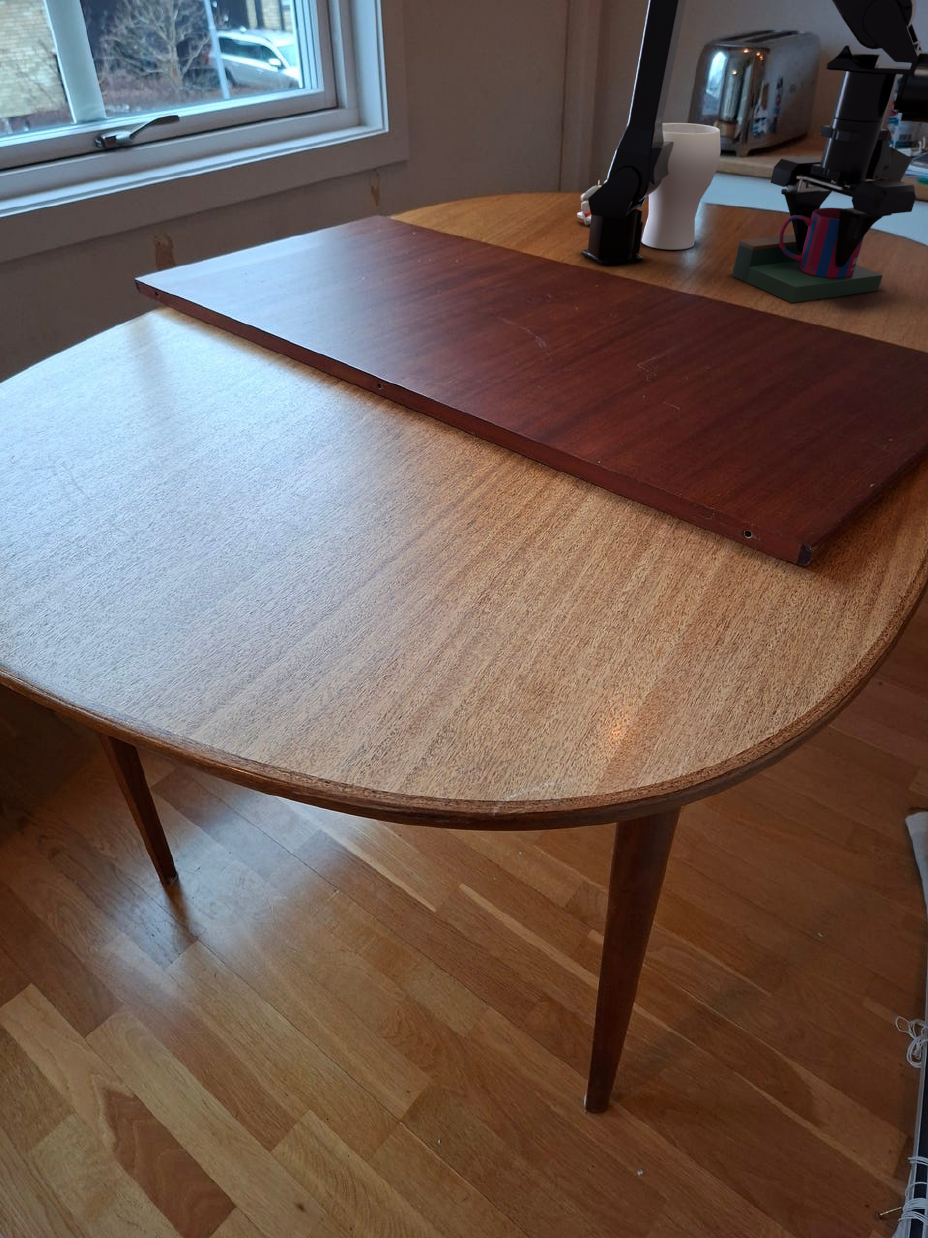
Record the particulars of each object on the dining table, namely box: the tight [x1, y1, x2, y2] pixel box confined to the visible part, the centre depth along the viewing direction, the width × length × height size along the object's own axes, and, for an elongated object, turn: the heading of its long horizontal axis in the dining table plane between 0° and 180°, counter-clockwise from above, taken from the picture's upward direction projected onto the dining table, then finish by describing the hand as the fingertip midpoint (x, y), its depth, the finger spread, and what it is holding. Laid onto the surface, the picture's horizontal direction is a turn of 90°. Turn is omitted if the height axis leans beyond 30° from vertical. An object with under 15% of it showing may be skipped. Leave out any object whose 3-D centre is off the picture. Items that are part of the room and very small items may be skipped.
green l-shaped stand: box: [732, 234, 883, 304], centre depth 110 cm, size 14×12×4 cm
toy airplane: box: [576, 179, 607, 226], centre depth 133 cm, size 9×9×6 cm
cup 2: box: [778, 207, 865, 278], centre depth 107 cm, size 7×10×7 cm
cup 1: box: [641, 122, 722, 251], centre depth 122 cm, size 11×11×15 cm
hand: (820, 258), depth 108 cm, fingers closed on cup 2, 7 cm apart
